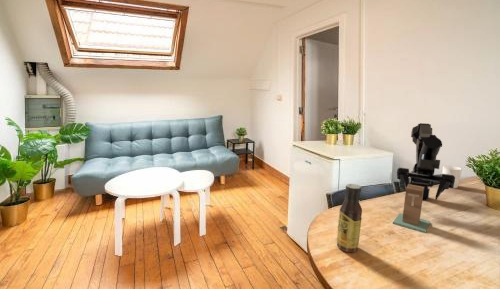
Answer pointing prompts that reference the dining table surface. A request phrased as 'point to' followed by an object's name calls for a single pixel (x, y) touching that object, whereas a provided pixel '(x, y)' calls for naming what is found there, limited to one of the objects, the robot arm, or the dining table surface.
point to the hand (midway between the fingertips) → (421, 196)
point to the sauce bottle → (350, 220)
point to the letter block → (413, 204)
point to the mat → (421, 227)
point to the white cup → (453, 173)
